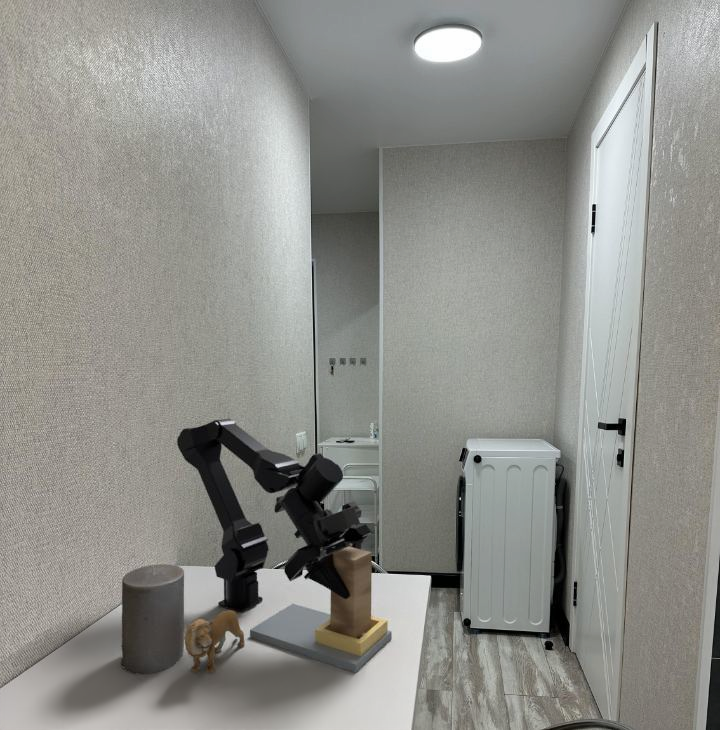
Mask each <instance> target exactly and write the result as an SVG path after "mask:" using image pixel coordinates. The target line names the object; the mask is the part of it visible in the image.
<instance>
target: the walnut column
mask: <svg viewBox="0 0 720 730" xmlns="http://www.w3.org/2000/svg"><path fill="white" fill-rule="evenodd" d="M372 555H373V553H372V551H368V550H364V549H362V548H361V549H357V548H353V547H346V548H344V549H342V550H339V551H337V552H335V553H333V561H334V567H335V569H336V570H337V572H338V574H339V575H340V577H341V579H342V580H343V582H344V584H345V585H346V587H347V589H348V591H349V594H350V597H349V598H347V599H344V598H342V597H341V596H339V595H338V594H336V593H334V592H333V591H331V590H330V613H329V614H330V631H333V632H336V633H339V634H343V635H346V636H349V637H353V638H357V637H358V636H360V635H361V634H363V633H364V632H366V631H367V630H369V629H370V628H371V616H372V575H373V574H372V573H373V571H372V566H373V565H372V563H373V562H372V561H373V559H372V558H373V556H372Z"/></svg>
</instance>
